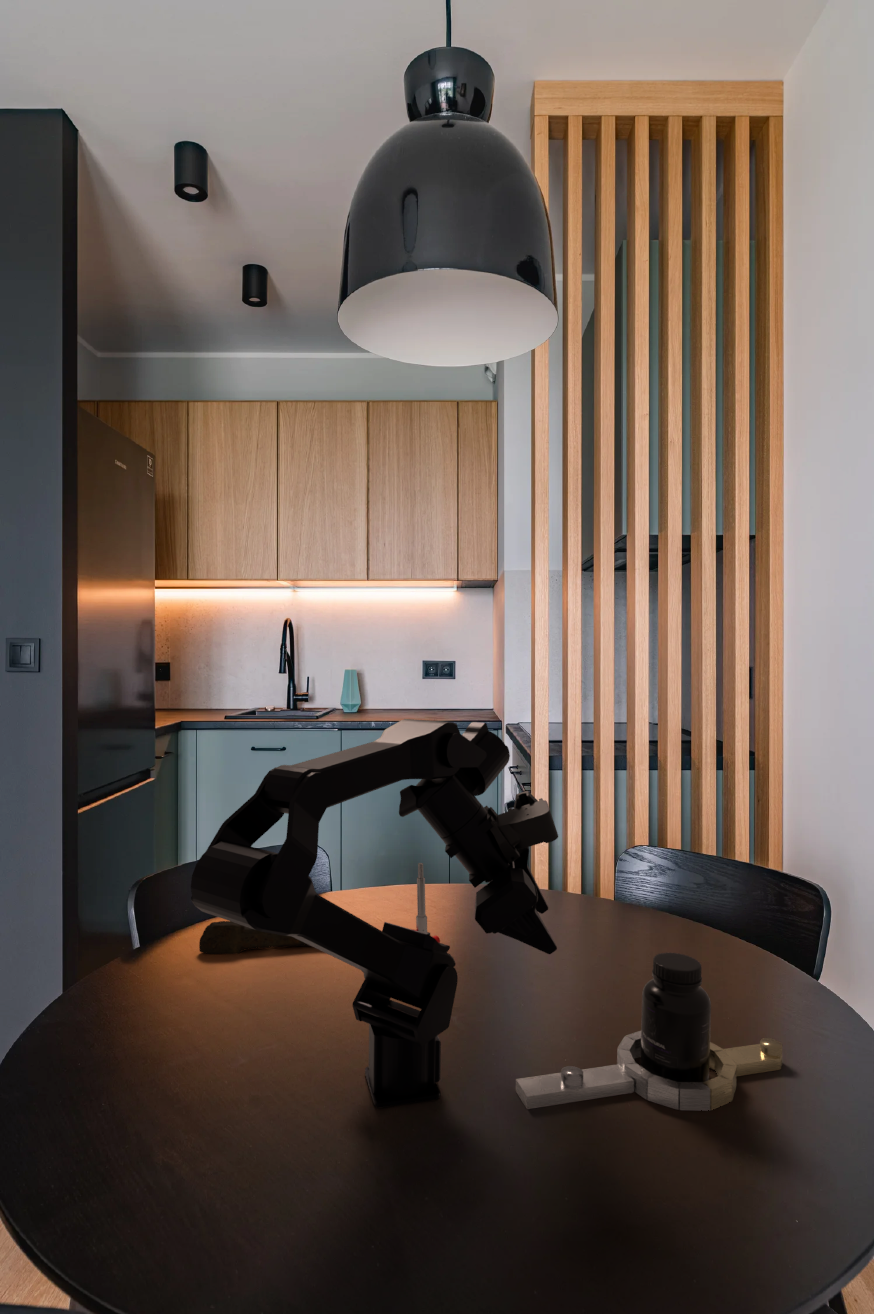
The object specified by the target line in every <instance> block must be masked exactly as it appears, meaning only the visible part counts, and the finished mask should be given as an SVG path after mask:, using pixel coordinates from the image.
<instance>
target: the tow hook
mask: <svg viewBox="0 0 874 1314" xmlns="http://www.w3.org/2000/svg"><path fill="white" fill-rule="evenodd" d="M417 873H418V874H417V876H418V877H416V896H417V899H416V900H417V902H416V903H417V905H416V906H417V908H416V909H417V915H416V916H415V917H416V918H415V923H416V924H415V925H416V928H415V929H412V928H411V929H412V930H415V931H419V932H422V933H426V934H429V935H430V936H432V937H433V938H435V939H436V941H437V942H438V943H441V940H440V936H438V935H436V934H435V935H431V932H430V931H428V916H427V915H426V914H427V913H426V912H427V911H426V877H424V863H422V862H418V863H417Z"/></svg>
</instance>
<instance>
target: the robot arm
mask: <svg viewBox="0 0 874 1314" xmlns="http://www.w3.org/2000/svg"><path fill="white" fill-rule="evenodd" d="M458 727H459V726H458V724H457V723H455V722H454V721H440V720H439V721H438V720H428V719H427V720H426V719H415V718H414V719H413V718H404V719H402V720H399V721H398V722H396V723H394V724H393V725H391V726H389V727H387V728H385V729H384V730H383V731H382V733H381V735H380V737H379V738H377V739H375V740H374V741H371V742H368V743H364V744H360V745H357V746H354V747H350V748H347V749H343V750H340V751H337V752H333V753H329V754H325V755H321V756H318V757H315V758H311V759H308V760H304V761H302V762H297V763H295V764H294V763H293V764H292V765H291V764H280V765H278V766H276V767H274V768H272V769H270V770H269V771H268V772H267V773H266V775H265V776H264V777H263V779H262V780H261V783H260V784H259V786H258V787H257V789H256V791H255V793H254V794H253V795H252V796H251V797H249V799H248V800H246V801H245V802H244V803H242V805H241V806H240V807H239V808H238V809H236V810H235V811H234V812H233V813H232V814H231V815H230V816H228V817H227V819H225V820H224V821H223V823H221V824H220V827H219V828H218V830H217V832H216V834H215V836H214V837H213V839H212V840H211V842H210V843H209V844H208V847H207V849H206V850H205V852H204V853H203V854H202V855H201V856H200V857H199V860H198V861H197V862H196V864H195V867H194V869H193V872H192V875H191V881H190V893H191V898H190V901H191V902H192V904H193V905H194V906H195V908H197V909H198V910H200V912H202V913H205V914H208V915H210V916H211V915H212V916H215V917H217V918H220V919H222V920H224V921H225V920H226V921H231V922H234V923H237V924H240V925H243V926H246V927H249V928H252V929H255V930H258V931H261V932H267V933H272V934H278V935H283V936H292V937H294V938H296V939H298V940H300V941H302V942H304V943H306V944H308V945H307V946H309V947H312V948H315V949H317V950H318V951H321V952H322V953H325V954H327V955H330V956H331V957H334V958H335V959H337V960H339V961H341V962H343V963H345V964H347V965H349V966H351V967H353V968H355V969H358V970H359V971H361V972H362V973H363V977H364V980H363V982H362V984H361V986H360V988H359V990H358V991H357V994H356V995H355V997H354V1000H353V1002H352V1008H353V1013H354V1017H355V1020H357V1021H358V1022H364V1023H366V1024H368V1066H366V1067H365V1068H364V1075H365V1078H366V1082H367V1084H368V1085H367V1086H368V1089H369V1091H370V1096H371V1099H372V1101H373V1102H372V1103H373V1106H374V1107H375V1108H378V1109H380V1108H386V1107H387V1108H388V1107H392V1106H393V1107H394V1106H400V1105H407V1104H414V1103H421V1102H427V1101H434V1100H438V1099H440V1098H441V1091H440V1089H439V1087H438V1085H437V1083H439V1082H440V1081H441V1057H442V1056H441V1055H442V1053H441V1051H442V1046H441V1045H442V1042H441V1040H440V1037H439V1035H440V1034H442V1033H444V1032H445V1031H446V1030H448V1028H449V1027H450V1023H451V1018H452V1012H453V1008H454V1002H455V999H456V998H455V997H456V993H457V986H458V981H459V979H458V971H457V969H456V968H455V966H456V964H457V963H456V961H455V959H454V957H453V956H452V955H451V954H450V953H448V952H449V950H450V949H451V945H448V944H445V943H442V942H440V943H438V942H437V941H436V939H435V938H433V937H432V936H433V935H431V934H430V935H429V934H426V933H422V932H419V931H415V930H416V929H414V930H412V928H408V927H404V926H401V925H397V924H394V923H391V922H387V921H384V922H383V927H382V930H381V929H379V928H377V927H375V926H374V925H372V924H370V923H369V922H367V921H365V920H364V919H362V918H360V917H358V916H357V915H354V914H353V913H351V912H349V911H348V910H345V909H344V908H342V907H340V906H339V905H337V904H336V903H334V902H332V901H330V900H328V899H326V898H325V897H323V896H321V895H320V894H319V893H318V892H316V890H315V886H314V883H313V882H314V881H313V879H312V877H311V876H310V874H311V872H312V870H313V868H314V865H315V864H316V862H317V859H318V849H319V848H318V847H319V831H320V829H319V828H320V827H319V826H320V822H321V820H322V818H323V816H324V815H325V812H326V810H327V809H328V808H330V807H334V806H336V805H340V804H341V803H344V802H347V801H349V800H352V799H355V798H358V797H360V796H363V795H365V794H366V795H367V794H369V793H372V792H373V791H376V790H379V789H382V788H385V787H387V786H389V785H392V784H395V783H398V782H400V781H404V780H419V782H418V783H417V784H416V785H414V784H409V785H408V786H406V787H405V788H403V789H401V790H400V791H399V796H400V802H399V804H398V805H399V808H398V814H399V817H402V818H404V817H406V816H408V815H410V814H412V813H414V812H415V811H418V812H419V813H420V814H421V815H422V817H423V818H424V819H425V820H426V822H427V823H428V824H429V825H430V827H431V828H432V829H433V830H434V832H435V833H436V834H437V835H438V836H439V838H440V839H441V840H442V842H443V843H444V844H445V849H444V852H445V853H446V855H447V856H448V857H449V858H450V859H452V858H453V857H455V858H456V859H457V861H459V862H460V864H461V865H462V866H463V867H464V869H465V870H467V872H468V873H469V875H468V877H469V878H468V881H469V883H470V884H471V885H472V886H473V888H477V887H478V886H479V885H481V884H482V883H484V882H485V883H486V885H484V886H483V887H482V888H480V889H479V890H477V891H476V892H475V893H476V894H475V902H474V920H475V922H476V923H477V924H478V925H479V926H480V927H481V929H482V930H483V932H485V934H491V933H492V934H495V935H496V934H497V933H499V934H501V935H504V936H506V937H509V938H511V939H514V940H516V941H519V942H521V943H523V944H524V945H525V944H526V945H528V946H529V947H532V948H534V949H536V950H538V951H540V952H543V953H545V954H547V955H551V954H553V953H554V952H555V951H557V950H558V946H557V944H556V942H555V941H554V939H553V936H552V934H551V933H550V931H549V929H548V927H547V926H546V925H545V923H544V921H543V918H542V917H541V916H540V915H543V914H544V913H546V912H548V911H549V905H548V904H547V901H546V899H545V898H544V895H543V894H542V892H541V889H540V887H539V886H538V883H537V881H536V879H535V877H534V874H533V873H532V870H531V869H530V867H529V864H528V863H529V862H528V861H529V856H530V855H529V853H530V848H529V847H533V846H536V845H539V844H542V843H545V844H548V843H549V844H550V843H552V842H555V841H556V840H558V838H559V834H558V833H559V832H558V831H557V828H556V824H555V821H554V818H553V816H552V813H551V809H550V806H549V803H548V800H545V799H543V798H542V797H541V798H538V799H537V798H536V797H535V796H534V795H533V794H532V793H531V792H529V790H526V791H522V792H519V793H516V794H515V799H514V805H513V808H512V807H509V808H508V809H507V810H508V811H505V812H502V813H500V814H498V813H497V812H496V811H495V809H493V807H492V806H490V807H489V806H488V805H485V806H483V805H482V803H481V802H480V801H479V800H478V798H477V797H478V796H481V795H483V794H484V793H485V792H486V791H487V790H488V789H489V787H490V786H491V785H492V784H493V782H494V781H495V780H496V779H497V778H498V777H499V775H500V774H501V772H502V771H504V769H505V768H506V767H507V765H508V763H509V761H510V757H511V754H510V749H509V747H508V746H507V745H506V744H505V742H504V740H502V739H501V737H500V736H498V735H497V734H496V733H494V732H492V731H490V730H489V728H488V724H487V723H486V722H479V721H472V722H471V723H469V724H468V726H467V727H466V729H465V731H464V732H463V733H461V731H460V730H459V728H458ZM285 814H287V815H288V816H287V827H286V835H285V836H286V837H285V840H284V842H283V844H282V846H281V847H280V850H279V851H278V852H274V851H270V850H266V849H262V848H259V847H253V845H254V844H255V843H256V842H257V841H258V840H260V838H261V837H262V836H264V835H265V834H266V833H267V832H268V831H269V830H270V829H272V828H273V826H274V825H275V824H277V823H278V822H279V821H280V820H281V819H282V818H283V816H284V815H285ZM398 1001H399V1002H398ZM403 1003H404V1004H403ZM408 1005H409V1006H408ZM411 1006H412V1007H411ZM416 1008H418V1009H416Z"/></svg>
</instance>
